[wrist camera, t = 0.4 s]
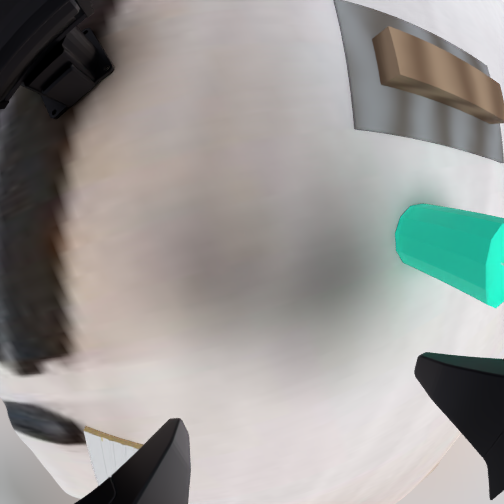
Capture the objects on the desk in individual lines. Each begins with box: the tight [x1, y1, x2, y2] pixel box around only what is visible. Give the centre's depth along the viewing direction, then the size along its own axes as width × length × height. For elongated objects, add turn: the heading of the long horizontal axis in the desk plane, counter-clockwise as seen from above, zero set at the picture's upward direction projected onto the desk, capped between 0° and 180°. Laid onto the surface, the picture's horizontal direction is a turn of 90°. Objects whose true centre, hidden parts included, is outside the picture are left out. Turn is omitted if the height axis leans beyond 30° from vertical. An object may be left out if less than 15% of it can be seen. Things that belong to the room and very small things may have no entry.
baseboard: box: [84, 426, 143, 486], centre depth 26 cm, size 30×3×10 cm
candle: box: [395, 204, 504, 308], centre depth 16 cm, size 6×6×12 cm
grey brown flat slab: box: [334, 0, 504, 163], centre depth 17 cm, size 24×14×3 cm, turn 92°
